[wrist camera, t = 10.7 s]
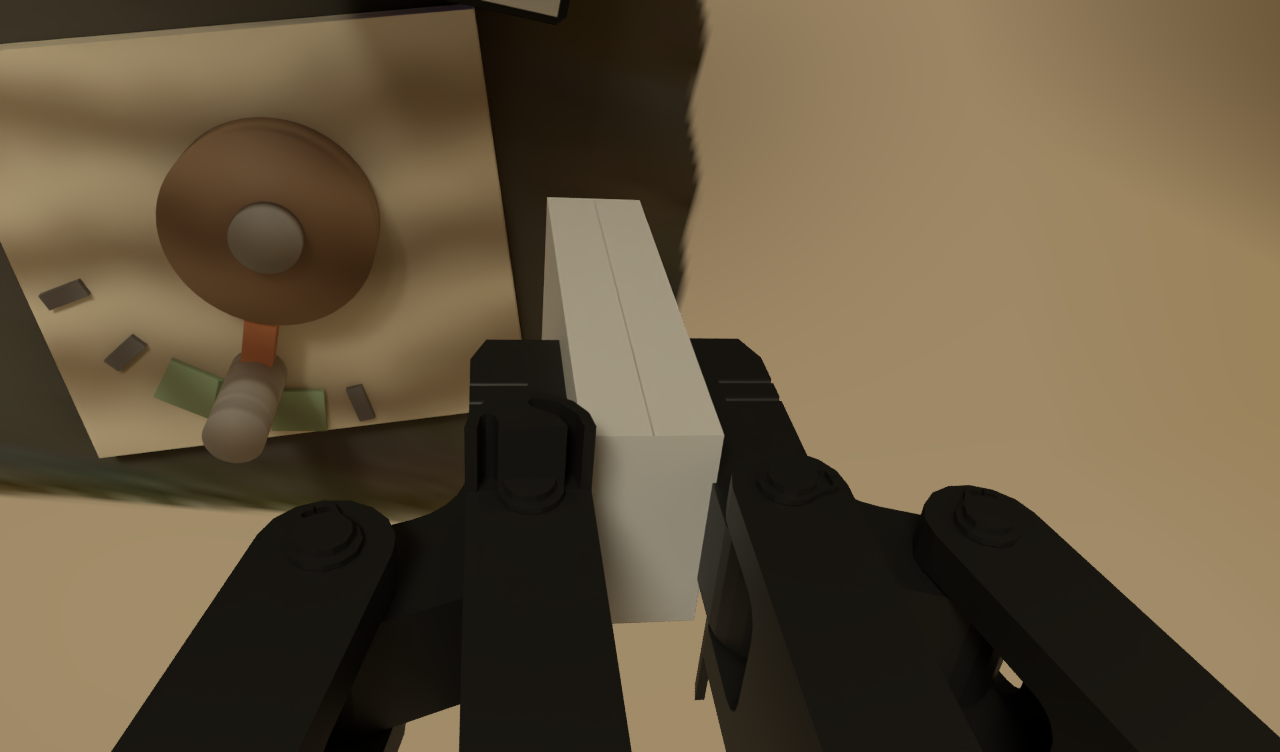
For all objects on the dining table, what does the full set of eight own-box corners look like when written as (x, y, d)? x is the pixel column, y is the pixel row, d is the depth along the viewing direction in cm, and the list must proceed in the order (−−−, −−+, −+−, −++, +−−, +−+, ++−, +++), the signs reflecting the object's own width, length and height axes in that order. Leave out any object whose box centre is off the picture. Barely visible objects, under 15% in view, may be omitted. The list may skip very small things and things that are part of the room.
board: (-69, 50, 39) (-88, 59, 37) (473, 3, 40) (473, 10, 39) (107, 444, 49) (97, 461, 48) (529, 392, 51) (530, 408, 50)
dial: (173, 94, 39) (125, 142, 34) (394, 144, 42) (380, 196, 37) (161, 372, 46) (120, 447, 41) (353, 401, 48) (336, 476, 43)
